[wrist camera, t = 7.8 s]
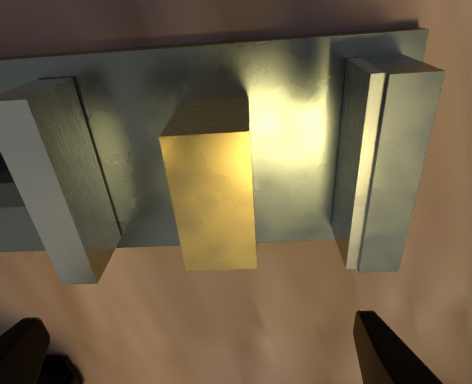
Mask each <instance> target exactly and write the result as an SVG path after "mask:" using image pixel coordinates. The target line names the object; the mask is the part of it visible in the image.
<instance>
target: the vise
mask: <svg viewBox="0 0 472 384" xmlns="http://www.w3.org/2000/svg"><path fill="white" fill-rule="evenodd" d="M428 30H429V29H426V28H420V27H415V28H402V29H388V30H375V31H361V32H347V33H334V34H320V35H306V36H293V37H279V38H265V39H252V40H238V41H225V42H211V43H197V44H184V45H170V46H156V47H143V48H129V49H115V50H102V51H88V52H75V53H61V54H47V55H34V56H20V57H6V58H0V94H1V93H3V92H6V91H8V90H10V89H13V88H15V87H18V86H20V85H23V84H25V83H28V82H30V81H33V80H45V79H59V78H72V79H73V82H74V85H75V89H76V92H77V95H78V98H79V102H80V105H81V108H82V111H83V115H84V118H85V121H86V124H87V128H88V131H89V134H90V137H91V141H92V144H93V147H94V151H95V154H96V157H97V160H98V164H99V167H100V170H101V173H102V177H103V180H104V183H105V186H106V190H107V193H108V196H109V199H110V203H111V206H112V209H113V212H114V216H115V219H116V222H117V225H118V229H119V232H120V235H121V239H120V241H119V243H118V245H117V247H116V248H124V247H151V246H178V245H180V240H179V235H178V230H177V225H176V220H175V215H174V210H173V205H172V200H171V195H170V190H169V185H168V180H167V175H166V170H165V165H164V160H163V155H162V150H161V145H160V140H159V136H160V134H161V133H162V131H163V129H164V128H165V126H166V125H167V123H168V121H169V120H170V118H171V116H172V115H173V113H174V112H175V110H176V108H177V107H178V105H179V104H180V102H181V101H193V100H208V99H223V98H238V97H249V110H250V128H251V147H252V165H253V184H254V202H255V226H256V243H259V242H286V241H313V240H336V243H337V246H338V248H339V251H340V254H341V257H342V260H343V262H344V265H345V268H346V269H358V271H359V273H363V272H395V271H398V270H399V266H400V262H401V257H402V253H403V249H404V245H405V240H406V236H407V232H408V228H409V223H410V219H411V215H412V211H413V206H414V202H415V198H416V194H417V189H418V185H419V181H420V177H421V172H422V168H423V164H424V160H425V155H426V151H427V147H428V143H429V138H430V134H431V130H432V126H433V121H434V117H435V113H436V109H437V104H438V100H439V96H440V92H441V87H442V83H443V79H444V75H445V71H444V70H442V69H439V68H437V67H434V66H432V65H429V64H426V63H424V62H422V60H423V55H424V50H425V45H426V40H427V35H428ZM4 171H9V169H8V167H7V165H6V162H5V160H4V158H3V156H2V154H1V152H0V172H4ZM43 250H46V249H45V247H44V245H43V243H42V240H41V238H40V236H39V234H38V232H37V230H36V227H35V225H34V223H33V221H32V219H31V217H30V214H29V212H28V210H27V208H26V207H4V208H0V252H16V251H43Z"/></svg>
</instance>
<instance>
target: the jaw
mask: <svg viewBox="0 0 472 384" xmlns="http://www.w3.org/2000/svg"><path fill="white" fill-rule="evenodd" d="M0 152H1V154H2V156H3V158H4V160H5V162H6V165H7V167H8V169H9V171H4V172H0V208H4V207H26V208H27V210H28V212H29V214H30V217H31V219H32V221H33V223H34V225H35V227H36V230H37V232H38V234H39V236H40V238H41V240H42V243H43V245H44V247H45V249H46V251H47V253H48V256H49V258H50V260H51V262H52V264H53V266H54V269H55V271H56V273H57V275H58V277H59V279H60V282H61V284H95V283H98V281H99V279H100V277H101V276H102V274H103V272H104V270H105V268H106V266H107V264H108V262H109V260H110V258H111V256H112V254H113V252H114V250H115V248H116V247H117V245H118V243H119V241H120V239H121V235H120V232H119V229H118V225H117V222H116V219H115V216H114V212H113V209H112V206H111V203H110V199H109V196H108V193H107V190H106V186H105V183H104V180H103V177H102V173H101V170H100V167H99V164H98V160H97V157H96V154H95V151H94V147H93V144H92V141H91V137H90V134H89V131H88V128H87V124H86V121H85V118H84V115H83V111H82V108H81V105H80V102H79V98H78V95H77V92H76V89H75V85H74V82H73V79H72V78H59V79H45V80H33V81H30V82H28V83H25V84H23V85H20V86H18V87H15V88H13V89H10V90H8V91H6V92H3V93H1V94H0Z"/></svg>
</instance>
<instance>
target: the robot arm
mask: <svg viewBox="0 0 472 384" xmlns="http://www.w3.org/2000/svg"><path fill="white" fill-rule="evenodd" d="M353 335H354V341H355V346H356V350H357V355H358V360H359V365H360V369H361V374H362V379H363V384H443V383H442V382H441V381H440V380H439V379H438V378H437V377H436V376H435V375H434V374H433V372H432V371H431V370H430V369H429V368H428V367H427V366H426V365H425V364H424V363H423V362H422V361H421V360H420V359H419V358H418V357H417V356H416V355H415V354H414V353H413V352H412V351H411V349H410V348H409V347H408V346H407V345H406V344H405V343H404V342H403V341H402V340H401V339H400V338H399V337H398V336H397V335H396V334H395V333H394V332H393V331H392V330H391V329H390V327H389V326H388V325H387V324H386V323H385V322H384V321H383V320H382V319H381V318H380V317H379V316H378V315H377V314H376V313H375V312H374V311H372V310H358V311H357V312H356V316H355V322H354V328H353ZM49 343H50V335H49V333H48V331H47V329H46V328H45V326H44V324H43V322H42V320H41V319H40V318H37V317H33V318H24V319H22V320H20V321H19V322H18V323H17V324H15V325H14V326H13V327H11V328H10V329H9V330H7V331H6V332H5V333H4V334H2V335H1V336H0V384H81V382H80V380H79V378H78V376H77V374H76V373H75V371H74V369H73V367H72V365H71V363H70V361H69V359H68V358H67V357H64V356H45V355H46V352H47V349H48V346H49Z"/></svg>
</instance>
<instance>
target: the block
mask: <svg viewBox="0 0 472 384" xmlns="http://www.w3.org/2000/svg"><path fill="white" fill-rule="evenodd" d="M159 140H160V145H161V150H162V155H163V160H164V165H165V170H166V175H167V180H168V185H169V190H170V195H171V200H172V205H173V210H174V215H175V220H176V225H177V230H178V235H179V240H180V245H181V250H182V255H183V259H184V264H185V269H186V271H205V270H234V269H257V253H256V226H255V202H254V184H253V165H252V147H251V128H250V110H249V97H238V98H223V99H208V100H193V101H181V102H180V104H179V105H178V107H177V108H176V110H175V112H174V113H173V115H172V116H171V118H170V120H169V121H168V123H167V125H166V126H165V128H164V129H163V131H162V133H161V134H160V136H159Z"/></svg>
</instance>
